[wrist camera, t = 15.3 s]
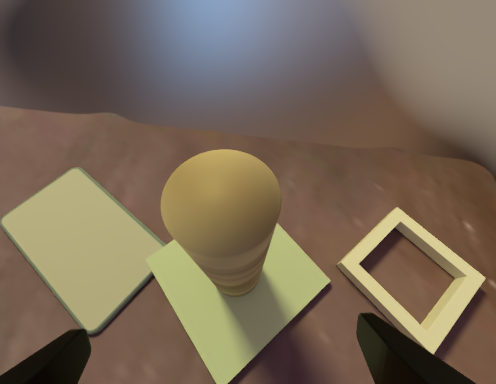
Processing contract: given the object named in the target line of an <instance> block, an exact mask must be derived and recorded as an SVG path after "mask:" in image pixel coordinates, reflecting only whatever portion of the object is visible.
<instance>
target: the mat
mask: <svg viewBox="0 0 496 384" xmlns="http://www.w3.org/2000/svg"><path fill="white" fill-rule="evenodd" d="M145 260H146V262H147V263H148V265H149V267H150V269H151V270H152V272H153V274H154V276H155V277H156V279H157V281H158V283H159V284H160V286H161V288H162V290H163V291H164V293H165V295H166V297H167V298H168V300H169V302H170V304H171V305H172V307H173V309H174V311H175V312H176V314H177V316H178V318H179V319H180V321H181V323H182V325H183V326H184V328H185V330H186V332H187V333H188V335H189V337H190V339H191V340H192V342H193V344H194V346H195V347H196V349H197V351H198V353H199V354H200V356H201V358H202V360H203V361H204V363H205V365H206V366H207V368H208V370H209V372H210V373H211V375H212V377H213V379H214V380H215V382H216V384H228V383H229V382H230V381H231V380H232V379H233V378H234V377H235V376H236V375H237V374H238V373H239V372H240V371H241V370H242V369H243V368H244V367H245V366H246V365H247V364H248V363H249V362H250V361H251V360H252V359H253V358H254V357H255V356H256V355H257V354H258V353H259V352H260V351H261V350H262V349H263V348H264V347H265V346H266V345H267V344H268V343H269V342H270V341H271V340H272V339H273V338H274V337H275V336H276V335H277V334H278V333H279V332H280V331H281V330H282V329H283V328H284V327H285V326H286V325H287V324H288V323H289V322H290V321H291V320H292V319H293V318H294V317H295V316H296V315H297V314H298V313H299V312H300V311H301V310H302V309H303V308H304V307H305V306H306V305H307V304H308V303H309V302H310V301H311V300H312V299H313V298H314V297H315V296H316V295H317V294H318V293H319V292H320V291H321V290H322V289H323V288H324V287H325V286H326V285H327V284H328V283H329V282H330V279H329V278H328V277H327V276H326V275H325V274H324V273H323V272H322V271H321V270H320V269H319V268H318V266H317V265H316V264H315V263H314V262H313V261H312V260H311V259H310V258H309V257H308V256H307V255H306V254H305V252H304V251H303V250H302V249H301V248H300V247H299V246H298V245H297V244H296V243H295V242H294V241H293V239H292V238H291V237H290V236H289V235H288V234H287V233H286V232H285V231H284V230H283V229H282V228H281V226H280V225H279V224H278V223H277V224H276V227H275V230H274V233H273V236H272V240H271V243H270V246H269V249H268V252H267V255H266V258H265V262H264V265H263V268H262V271H261V274H260V277H259V280H258V283H257V285H256V286H255V288H254V289H253V290H252V291H250V292H249V293H248V294H246V295H244V296H240V297H231V296H228V295H225V294H223V293H222V292H221V291H220V290H219V289H218V288H217V287H216V286H215V285H214V284H213V283H212V281H211V280H210V279H209V278H208V277H207V276H206V275H205V273H204V272H203V271H202V270H201V269H200V268H199V267H198V265H197V264H196V263H195V262H194V261H193V260H192V259H191V257H190V256H189V255H188V254H187V253H186V252H185V251H184V249H183V248H182V247H181V246H180V245H179V244H178V243H177V241H176V240H175V239H174V240H173V241H171V242H170V243H168V244H167V245H166V246H164V247H163V248H161V249H160V250H158V251H157V252H155V253H154V254H153V255H151V256H150V257H148V258H147V259H145Z"/></svg>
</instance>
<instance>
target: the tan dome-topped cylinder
mask: <svg viewBox="0 0 496 384" xmlns="http://www.w3.org/2000/svg"><path fill="white" fill-rule="evenodd" d="M281 202H282V198H281V191H280V186H279V184H278V181H277V179H276V177H275V175H274V174H273V173H272V171H271V170H270V169H269V168H268V167H267V166H266V165H265V164H264V163H263V162H262V161H260V160H259V159H257V158H256V157H254V156H252V155H249V154H247V153H244V152H240V151H236V150H213V151H208V152H204V153H201V154H199V155H196V156H194V157H192V158H190V159H189V160H187V161H186V162H184V163H183V164H182V165H180V166H179V167H178V168H177V169H176V170H175V171H174V172H173V174H172V175H171V176H170V178H169V179H168V181H167V183H166V185H165V187H164V190H163V193H162V198H161V214H162V218H163V221H164V224H165V226H166V228H167V230H168V231H169V233H170V234H171V236H172V237H173V238H174V239H175V240H176V241H177V243H178V244H179V245H180V246H181V247H182V248H183V249H184V251H185V252H186V253H187V254H188V255H189V256H190V257H191V259H192V260H193V261H194V262H195V263H196V264H197V265H198V267H199V268H200V269H201V270H202V271H203V272H204V273H205V275H206V276H207V277H208V278H209V279H210V280H211V281H212V283H213V284H214V285H215V286H216V287H217V288H218V289H219V290H220V291H221V292H222V293H223V294H225V295H228V296H231V297H240V296H244V295H246V294H248V293H249V292H250V291H252V290H253V289H254V288H255V286H256V285H257V283H258V280H259V277H260V274H261V271H262V268H263V265H264V262H265V258H266V255H267V252H268V249H269V246H270V243H271V240H272V236H273V233H274V230H275V227H276V224H277V221H278V217H279V214H280V210H281Z"/></svg>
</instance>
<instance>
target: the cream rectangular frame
mask: <svg viewBox="0 0 496 384" xmlns="http://www.w3.org/2000/svg"><path fill="white" fill-rule="evenodd" d="M394 227H395V228H396V229H397V230H398V231H399V232H401V233H402V234H403V235H404V236H405V237H407V238H408V239H409V240H410V241H411V242H413V243H414V244H415V245H416V246H417V247H418V248H420V249H421V250H422V251H423V252H424V253H426V254H427V255H428V256H429V257H430V258H431V259H433V260H434V261H435V262H436V263H437V264H439V265H440V266H441V267H442V268H443V269H444V270H446V271H447V272H448V273H449V274H450V275H452V276H453V277H454V278H455V279H454V281H453V282H452V283H451V285H450V286H449V287H448V289H447V290H446V291H445V293H444V294H443V295H442V297H441V298H440V299H439V301H438V302H437V303H436V305H435V306H434V307H433V309H432V310H431V311H430V313H429V314H428V315H427V317H426V318H425V319H424V321H423V322H422V323H421V325H420V324H419V323H418V322H417V321H416V320H415V319H414V318H413V317H412V316H411V315H410V314H409V313H408V312H407V311H406V310H405V309H404V308H403V307H402V306H401V305H400V304H399V303H398V302H397V301H396V300H395V299H394V298H393V297H392V296H391V295H389V294H388V293H387V292H386V291H385V290H384V289H383V288H382V287H381V286H380V285H379V284H378V283H377V282H376V281H375V280H374V279H373V278H372V277H371V276H370V275H369V274H368V273H367V272H366V271H365V270H364V269H363V268H362V267H361V266H360V265H359V263H360V262H361V261H362V260H363V259H364V258H365V257H366V256H367V255H368V254H369V253H370V252H371V251H372V250H373V249H374V248H375V247H376V246H377V245H378V244H379V243H380V242H381V241H382V240H383V238H384V237H385V236H386V235H387V234H388V233H389V232H390V231H391V230H392V229H393V228H394ZM336 266H337V267H338V268H339V269H340V270H341V271H342V272H343V273H344V274H345V275H346V276H347V277H348V278H349V279H350V280H351V281H352V282H353V283H354V284H355V286H356V287H357V288H358V289H359V290H360V291H361V292H362V293H363V294H364V295H365V296H366V297H367V298H368V299H369V300H370V301H371V302H372V303H373V304H374V305H375V306H376V307H377V308H378V309H379V310H380V311H381V312H382V313H383V315H384V316H385V317H386V318H387V319H388V320H389V321H390V322H391V323H392V324H393V325H394V326H395V327H396V328H397V329H398V330H399V331H400V332H401V333H403V334H404V335H406V336H407V337H409V338H410V339H412V340H413V341H415V342H416V343H417V344H419V345H420V346H422V347H423V348H425V349H426V350H428V351H429V352H431V353H432V354H434V353H435V351H436V350H437V348H438V347H439V345H440V344H441V342H442V341H443V340H444V338H445V337H446V335H447V334H448V332H449V331H450V329H451V328H452V326H453V325H454V323H455V322H456V321H457V319H458V318H459V316H460V315H461V313H462V312H463V310H464V309H465V307H466V306H467V305H468V303H469V302H470V300H471V299H472V297H473V296H474V294H475V293H476V291H477V290H478V288H479V287H480V286H481V284H482V283H483V281H484V280H485V277H484V276H483V275H481V274H480V273H479V272H478V271H476V270H475V269H474V268H473V267H471V266H470V265H469V264H468V263H466V262H465V261H464V260H463V259H461V258H460V257H459V256H458V255H456V254H455V253H454V252H453V251H451V250H450V249H449V248H448V247H446V246H445V245H444V244H443V243H441V242H440V241H439V240H438V239H436V238H435V237H434V236H433V235H431V234H430V233H429V232H428V231H426V230H425V229H424V228H423V227H421V226H420V225H419V224H418V223H416V222H415V221H414V220H413V219H411V218H410V217H409V216H408V215H406V214H405V213H404V212H403V211H401V210H400V209H399V208H398V207H397V208H395V209H394V210H393V211H391V212H390V213H389V214H388V215H387V216H386V217H385V218H384V219H383V220H382V221H381V222H380V223H379V224H378V225H377V226H376V227H375V228H374V229H373V230H372V231H371V232H370V233H368V234H367V235H366V236H365V237H364V238H363V239H362V240H361V241H360V242H359V243H358V244H357V245H356V246H355V247H354V248H353V249H352V250H351V251H350V252H349V253H348V254H347V255H346V256H345V257H344V258H343V259H342V260H341V261H340V262H339V263H338V264H337V265H336Z"/></svg>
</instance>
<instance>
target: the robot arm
mask: <svg viewBox="0 0 496 384" xmlns="http://www.w3.org/2000/svg"><path fill="white" fill-rule="evenodd" d="M356 334H357V339H358V342H359V345H360V347H361V350H362V352H363V355H364V357H365V360H366V362H367V365H368V367H369V370H370V372H371V375H372V377H373V380H374V382H375V384H476V383H475V382H473V381H472V380H470V379H469V378H467V377H466V376H464V375H463V374H461V373H460V372H458V371H457V370H456V369H454V368H453V367H451V366H450V365H448V364H447V363H445V362H444V361H442V360H441V359H439V358H438V357H437V356H435V355H434V354H432V353H431V352H429V351H428V350H426V349H425V348H423V347H422V346H420V345H419V344H417V343H416V342H415V341H413V340H412V339H410V338H409V337H407V336H406V335H404V334H403V333H401V332H400V331H398V330H397V329H396V328H394V327H393V326H391V325H390V324H388V323H387V322H385V321H384V320H382V319H381V318H379V317H378V316H376V315H375V314H373V313H370V312H368V313H360V314H359V315H358V322H357V331H356ZM90 354H91V345H90V341H89V337H88V333H87V330H86V329H84V328H77V329H71V330H69V331H67V332H66V333H64V334H63V335H61V336H60V337H58V338H57V339H55V340H54V341H52V342H51V343H49V344H48V345H46V346H45V347H43V348H42V349H40V350H39V351H37V352H36V353H34V354H32V355H31V356H29V357H28V358H26V359H25V360H23V361H22V362H20V363H19V364H17V365H16V366H14V367H13V368H11V369H10V370H8V371H7V372H5V373H4V374H2V375H1V376H0V384H78V381H79V379H80V377H81V375H82V373H83V370H84V368H85V366H86V364H87V361H88V359H89V357H90Z"/></svg>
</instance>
